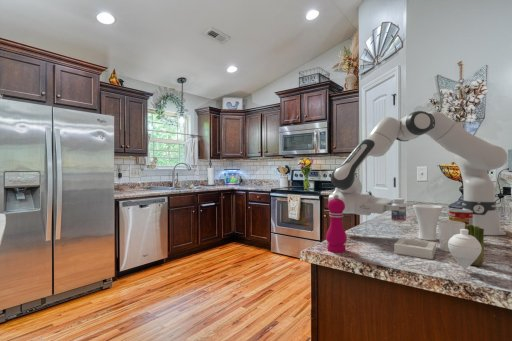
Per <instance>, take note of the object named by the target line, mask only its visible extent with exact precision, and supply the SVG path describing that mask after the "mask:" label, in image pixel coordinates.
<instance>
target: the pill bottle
mask: <svg viewBox="0 0 512 341" xmlns="http://www.w3.org/2000/svg"><path fill="white" fill-rule="evenodd" d="M392 200H393V202H394V203H393V204H392V206H400V210H398V211H395V210H394V211H390V212H391V221H392V222H398V223H402V222H406V221H407V205H406V204H405V198H403V197H402V198H400V197H394V198H392Z"/></svg>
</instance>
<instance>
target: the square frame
mask: <svg viewBox="0 0 512 341" xmlns="http://www.w3.org/2000/svg"><path fill="white" fill-rule="evenodd" d="M393 250H394V254H398V255H404V256H409V257H415V258H422V259H430V260H433V259H434V256H435V255H436V252H437V242H434V241H429V240H421V239H420V240H419V239H412V238H411V239H410V238H405V237H401V238H399V239H398V240H397V241H396V242H395V243H394V249H393Z"/></svg>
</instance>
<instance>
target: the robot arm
mask: <svg viewBox="0 0 512 341" xmlns="http://www.w3.org/2000/svg"><path fill="white" fill-rule="evenodd" d="M424 134H425V135H427V136H429V137H430V139H432V140H433V141H435V142H436V143H437V144H439V145H440V147H442V148H443V149H445V151H447V152H449V153H453V154H455V155H454V163H455V164H456V166H457V167H458V169H459V172H460V175H461V180H462V184H463V186H462V187H463V199H462V203H461V207H462V209H461V210H470V211H473V225H474V226H478V227H479V228H483V229H484V236H506V235H507V233H506V231H504V230H502V229H501V215H500V214H499V213H497V211H496V210H497V204H496V203H497V202H496V201H495V183H494V181H492V179H491V178H490V175H489V173H488V172H489V171H493V170H497V169H500V168H502V167H504V165H506V163H507V161H508V152H507V151H506V150H505V149H504V148H503V147H501V146H498V145H495V144H493V143H490V142H488V141H486V140H484V139H482V138H480V137H478V136H476V135H474V134H473V133H471V132H469V131H467V130H466V129H465V128H464V127H462V126H461V125H459V124H458V123H457V122H456V121H454V120H453V119H452V118H450V117H449V116H447V115H446V114H443V113H441V112H439V111H437V110H430V111H428V112H426V111H422V110H417V111H413V112H411V113H409V114H407V115H405V116H403V117H402V118H401V119H399V120H398V119H396V118H394V117H392V116H391V117H390V116H385V117H383V118H381V119H380V121H379V122H378V123H376V124H375V125H374V128H372V129H371V131H370V133H368V136H366V138H365V139H364V140H362V141H360V142H359V143H358V145H357V146H356V147H355V148H354V149H353V150H352V151H351V153H350V154H349V155H348V156H347V158H346V159H345V160H344V161H343V162H342V163H341V164H340V165H338V166H337V167H336V168H335V169H333V170H332V172H331V174H330V182H331V184H332V185H333V186H334V187H335V189H334V191H333V192H332V193H331V194H329V195H328V198H327V202H329V201H330V200H332V199H334V195H336V194H337V195H338V196H339V198H338V199H340V200H342V201H343V202H344V204H345V209H344V210H343V213H344V214H347V215H348V214H355V215H359V216H370V215H371V214H377V215H380V214H384V213H386V212H389V211H390V212H391V211H394V210H395V211H398V210H400V206H392V204H393V203H394V202H393V199H391V198H387V197H386V198H383V197H375V195H371V194H364V193H361V192H362V188H363V185H362V182H361V181H360V179H359V177H357V176H356V173H357V170H358V169H359V167H360V166H361V165H362V163H363V162H365V161H366V159H367V158H368V157H370V156H371V157H376V158H378V157H383V156H385V155H386V153H387V152H388V151H389V150H390V149H391V147H392V146H393V145H394V143H395V141H399V142H408V141H411V140H415V139H418V138H419V137H420V136H422V135H424Z"/></svg>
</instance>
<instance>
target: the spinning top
mask: <svg viewBox="0 0 512 341" xmlns="http://www.w3.org/2000/svg"><path fill="white" fill-rule="evenodd" d="M468 231H469V230H467V229H460V233H461V234H456V235H453V237H451V238H450V239H449V241H448V248H449V250H450V252H449V253H450V254H451V255H452V257H453V258H454V260H455V261H456V262H457V263H458V265H459V266H460V267H461V268H462V270H463V273H465V272H466V269H467V268H468V267H471V266H472V265H471V264H472V263H473V262H474V261H475V260H476V259H477V258H478V256H479V255H480V253H481V249H482V248H481V244H480V243H479V241H478V240H477V239H476V238H475V237H473V236H471V235H468Z"/></svg>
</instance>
